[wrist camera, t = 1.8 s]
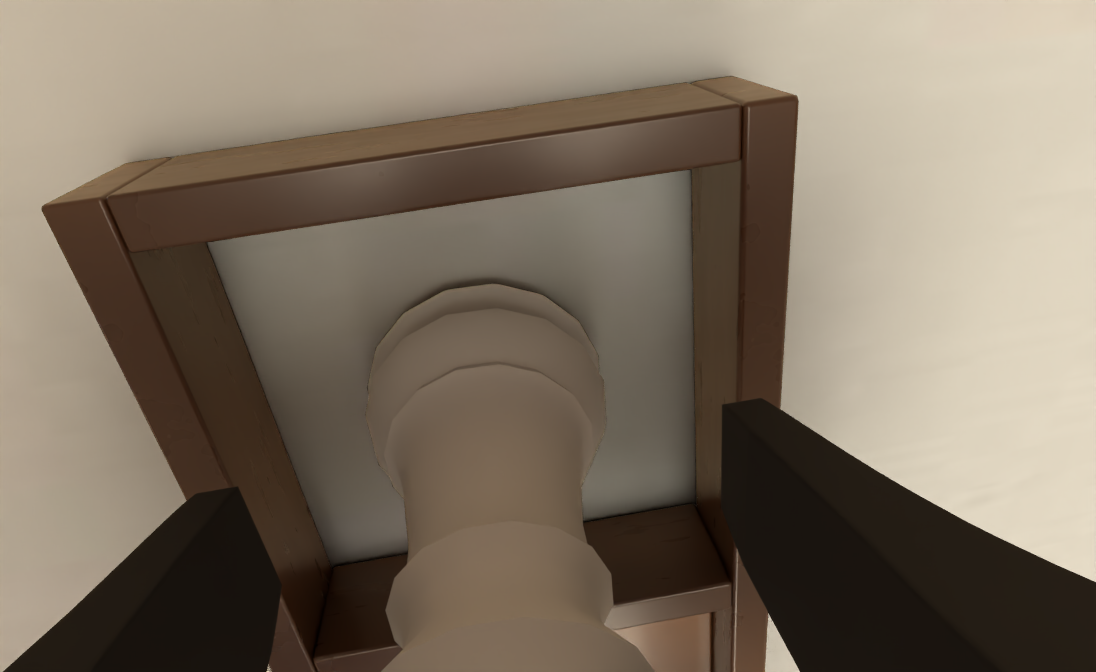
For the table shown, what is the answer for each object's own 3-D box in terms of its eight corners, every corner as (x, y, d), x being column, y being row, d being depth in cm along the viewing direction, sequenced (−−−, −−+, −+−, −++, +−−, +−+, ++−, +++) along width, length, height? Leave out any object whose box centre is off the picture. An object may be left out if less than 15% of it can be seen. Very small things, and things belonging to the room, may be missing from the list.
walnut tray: (724, 744, 20) (756, 834, 18) (397, 809, 19) (389, 908, 17) (735, 74, 11) (801, 94, 9) (122, 163, 10) (37, 207, 8)
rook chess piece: (638, 329, 13) (852, 731, 6) (533, 493, 15) (602, 963, 7) (427, 232, 12) (376, 609, 4) (335, 425, 13) (193, 926, 6)
